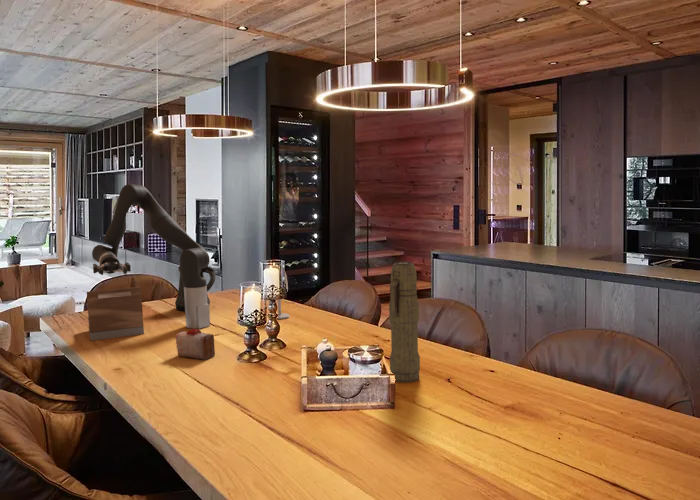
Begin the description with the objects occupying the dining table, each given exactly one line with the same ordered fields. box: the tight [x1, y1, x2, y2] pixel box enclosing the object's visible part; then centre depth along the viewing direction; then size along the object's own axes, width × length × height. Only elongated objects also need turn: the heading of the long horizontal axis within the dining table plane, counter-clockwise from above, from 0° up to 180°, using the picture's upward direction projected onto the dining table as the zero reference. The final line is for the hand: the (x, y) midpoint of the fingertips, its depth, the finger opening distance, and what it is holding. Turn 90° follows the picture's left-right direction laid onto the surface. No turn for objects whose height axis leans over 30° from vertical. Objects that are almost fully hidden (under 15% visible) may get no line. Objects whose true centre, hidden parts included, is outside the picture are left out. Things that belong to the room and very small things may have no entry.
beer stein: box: [174, 265, 216, 313], centre depth 283 cm, size 16×19×25 cm
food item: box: [175, 328, 216, 361], centre depth 203 cm, size 14×8×10 cm, turn 63°
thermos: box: [388, 261, 421, 383], centre depth 173 cm, size 9×12×35 cm
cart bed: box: [87, 317, 145, 341], centre depth 240 cm, size 18×20×6 cm
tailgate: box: [86, 286, 144, 333], centre depth 231 cm, size 2×20×16 cm, turn 115°
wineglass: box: [276, 272, 291, 320], centre depth 259 cm, size 9×9×21 cm
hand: (113, 272), depth 235 cm, fingers open, 8 cm apart
